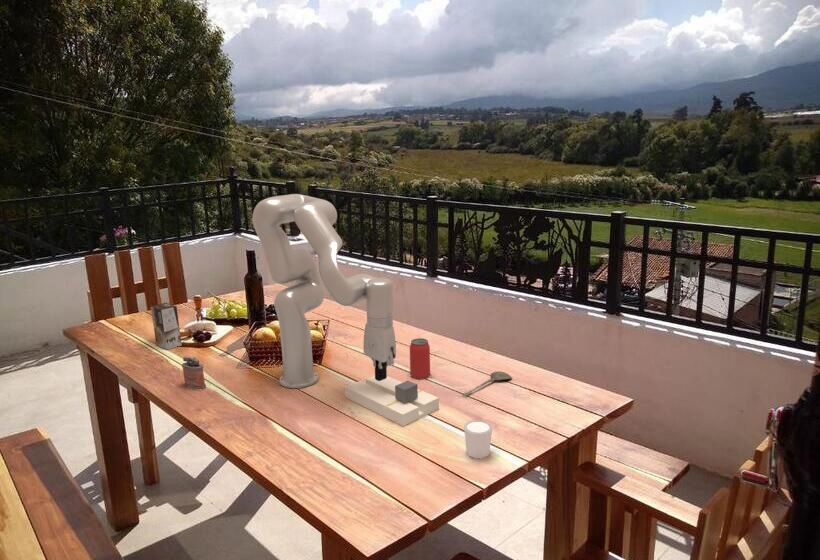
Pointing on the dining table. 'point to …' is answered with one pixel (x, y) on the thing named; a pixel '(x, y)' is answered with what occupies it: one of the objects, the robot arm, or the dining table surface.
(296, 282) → the robot arm
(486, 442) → the white cup
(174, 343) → the coffee box
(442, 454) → the dining table surface
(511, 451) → the dining table surface
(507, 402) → the dining table surface
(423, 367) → the beer can
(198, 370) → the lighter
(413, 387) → the fader knob
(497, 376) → the soupspoon
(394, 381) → the slider console
